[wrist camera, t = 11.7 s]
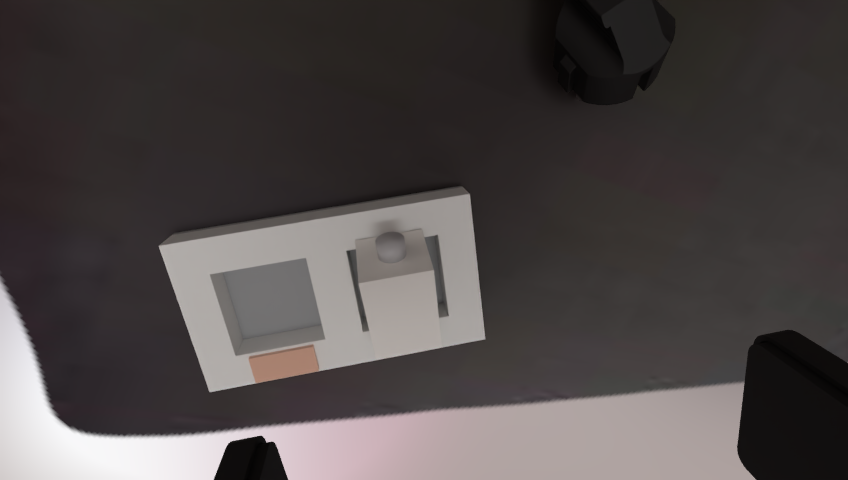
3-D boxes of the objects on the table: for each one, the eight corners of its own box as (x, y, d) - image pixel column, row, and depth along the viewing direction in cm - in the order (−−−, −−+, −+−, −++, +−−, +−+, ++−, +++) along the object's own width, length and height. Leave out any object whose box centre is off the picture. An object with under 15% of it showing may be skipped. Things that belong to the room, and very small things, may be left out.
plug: (430, 303, 31) (420, 215, 27) (442, 347, 28) (432, 254, 24) (371, 314, 31) (352, 226, 27) (376, 360, 28) (355, 268, 24)
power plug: (557, -152, 24) (719, -1, 20) (552, -35, 31) (670, 92, 27) (465, -88, 24) (606, 72, 20) (480, 13, 31) (587, 145, 28)
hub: (461, 185, 30) (470, 194, 27) (476, 321, 33) (486, 341, 31) (174, 232, 28) (156, 247, 26) (220, 370, 32) (208, 395, 29)
